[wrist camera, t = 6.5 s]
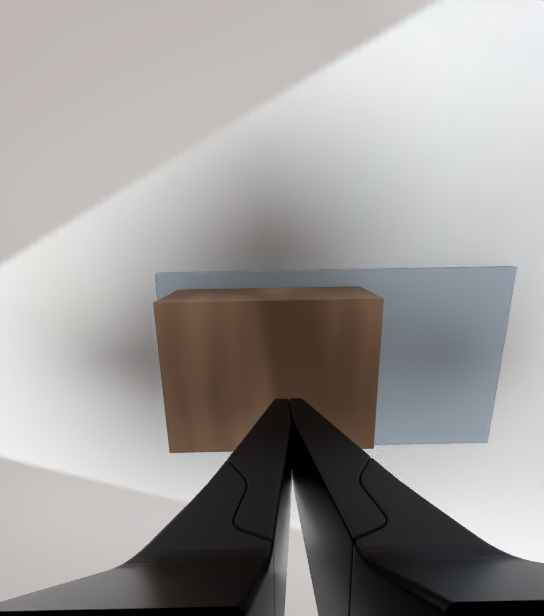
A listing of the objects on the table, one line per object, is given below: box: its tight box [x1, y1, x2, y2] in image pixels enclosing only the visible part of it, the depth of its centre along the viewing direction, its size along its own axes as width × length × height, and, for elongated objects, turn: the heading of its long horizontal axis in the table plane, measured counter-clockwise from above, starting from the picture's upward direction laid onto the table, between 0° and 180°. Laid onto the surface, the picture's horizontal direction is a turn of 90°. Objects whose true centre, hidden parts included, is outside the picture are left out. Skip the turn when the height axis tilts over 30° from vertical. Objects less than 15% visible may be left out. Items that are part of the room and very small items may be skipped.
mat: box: [155, 266, 517, 445], centre depth 14 cm, size 16×9×1 cm, turn 91°
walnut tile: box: [153, 286, 384, 453], centre depth 12 cm, size 3×6×8 cm
